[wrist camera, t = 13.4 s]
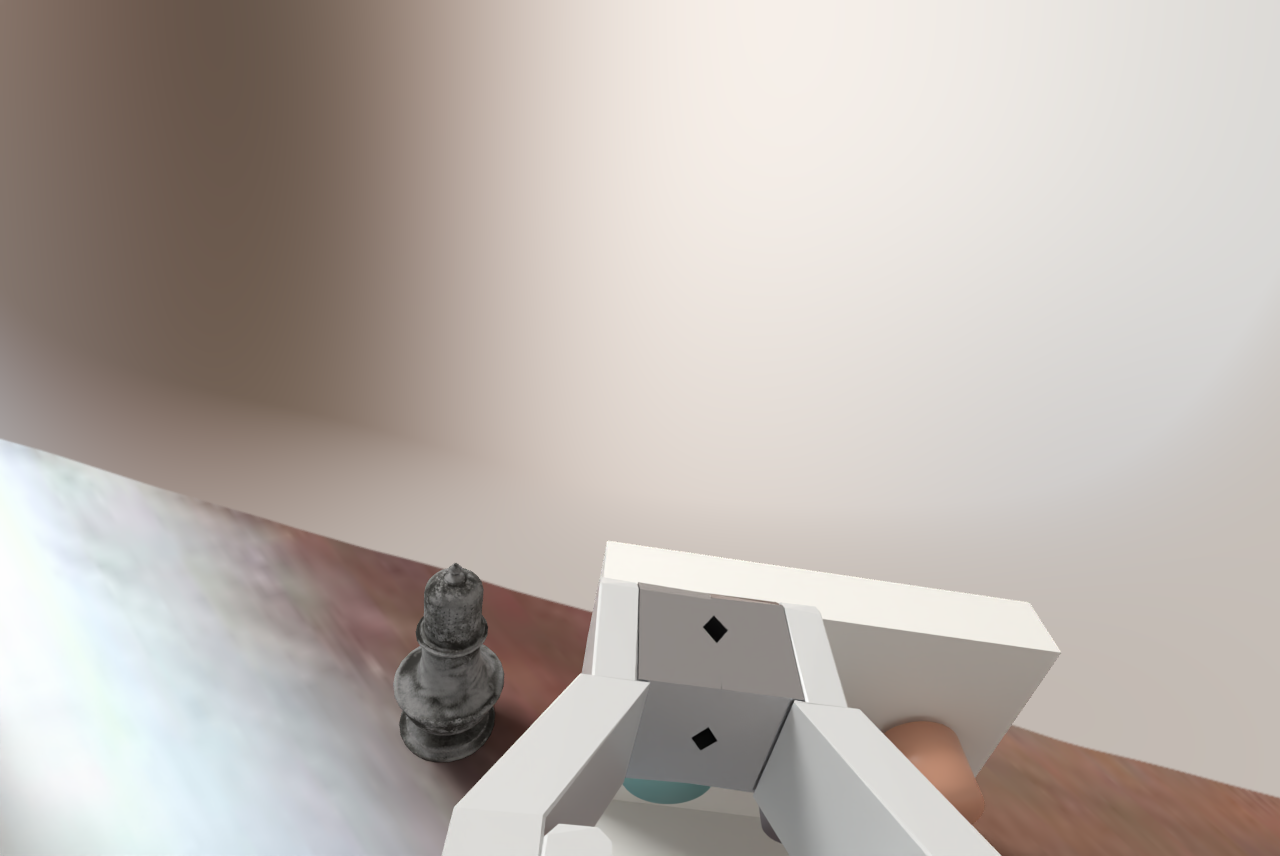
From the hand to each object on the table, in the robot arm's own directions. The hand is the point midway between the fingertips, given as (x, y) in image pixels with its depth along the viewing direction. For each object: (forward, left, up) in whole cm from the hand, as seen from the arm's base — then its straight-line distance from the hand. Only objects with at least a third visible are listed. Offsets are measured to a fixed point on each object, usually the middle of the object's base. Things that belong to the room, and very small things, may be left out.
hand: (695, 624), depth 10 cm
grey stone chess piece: (-7, +19, -30) cm, 36 cm away
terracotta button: (+16, +13, -22) cm, 30 cm away
